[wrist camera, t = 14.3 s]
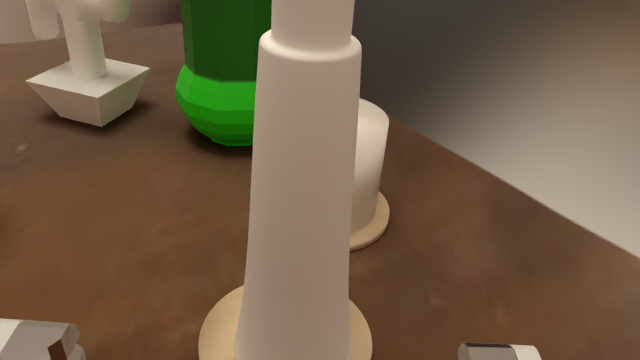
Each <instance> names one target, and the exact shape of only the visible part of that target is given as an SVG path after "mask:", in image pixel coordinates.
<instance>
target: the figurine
mask: <svg viewBox="0 0 640 360" xmlns="http://www.w3.org/2000/svg"><path fill="white" fill-rule="evenodd" d="M26 4H27V9H28V14H29V18H30V22H31V27H32V31H33V34H34V36H35V37H36V38H37V39H40V40H49V39H52V38H54V37H56V36H57V35H58V33H59V27H58V22H57V16H56V11H57V12H59V13H60V15H61V17H62V20H63V25H64V31H65V35H66V41H67V46H68V51H69V56H70V61H68V62H66V63H63V64H61V65H59V66H57V67H55V68H53V69H50V70H48V71H46V72H44V73H42V74H39V75H37V76H35V77H33V78H31V79H28V80H26V82H27V83H28V84H29V85H30V86H31V87H32V88H33V89H34V90H35V91H36V92H37V93H38V94H39V95H40V96H41V97H42V98H43V99H44V100H45V101H46V102H47V103H48V104H49V105H50V106H51V107H52V108H53V110H54V111H55V112H56V113H57V114H58V115H59V116H60V117H64V118H68V119H72V120H76V121H80V122H84V123H88V124H92V125H96V126H100V127H103V126H104V125H106V124H107V123H109V122H110V121H112V120H113V119H115V118H117V117H118V116H120V115H121V114H123V113H124V112H126V111H127V110H129V109H131V108H132V107H133V105H134V102H135V100H136V98H137V96H138V94H139V92H140V89H141V87H142V85H143V83H144V81H145V79H146V76H147V74H148V72H149V70H150V68H148V67H143V66H139V65H134V64H129V63H124V62H120V61H115V60H110V59H105V55H104V49H103V43H102V37H101V31H100V24H99V20H104V21H109V22H121V21H124V20H125V19H126V18H127V17H128V15H129V12H130V0H26Z"/></svg>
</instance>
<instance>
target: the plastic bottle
mask: <svg viewBox="0 0 640 360" xmlns="http://www.w3.org/2000/svg"><path fill="white" fill-rule="evenodd" d="M181 9H182V10H181V11H182V24H183V37H184V51H185V64H184V66H183V68H182V70H181V72H180V74H179V77H178V80H177V83H176V86H175V89H176V100H177V102H178V103H179V105H180V107H181V109H182V111H183V113H184V114H185V116H186V117H187V118H188V120H189V121H190V123H191V124H192V125H193V127H194V128H196V129H197V130H198V131H199V132H200V133H202V134H204V135H206V136H207V137H209V138H210V139H211V140H212V141H213V142H217V143H220V144H223V145H226V146H248V145H251V144H253V132H254V113H255V95H256V80H257V66H258V51H259V41H260V38H261V36H262V35H263V34H264V33H266V32H267V31H269V30H271V16H272V0H181Z"/></svg>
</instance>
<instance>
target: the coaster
mask: <svg viewBox="0 0 640 360" xmlns="http://www.w3.org/2000/svg"><path fill="white" fill-rule="evenodd" d="M388 220H389V206H388V203H387V201H386V199H385V198H384V196H383V195H382V194H381V193H380V192H379V191H378V198H377V204H376V211H375V216H374V218H373V220H372V221H371V222H370V223H369V224H368V225H367V226H366V227H365V228H363V229H361V230H359V231H357V232H355V233H352V234H350V247H349V252H351V251H355V250H358V249H361V248H364V247H366V246H368V245H370V244H372V243H374V242H375V241H376V240H378V239H379V238H380V237H381V236H382V235H383V233H384V232H385V230H386V228H387V225H388Z"/></svg>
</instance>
